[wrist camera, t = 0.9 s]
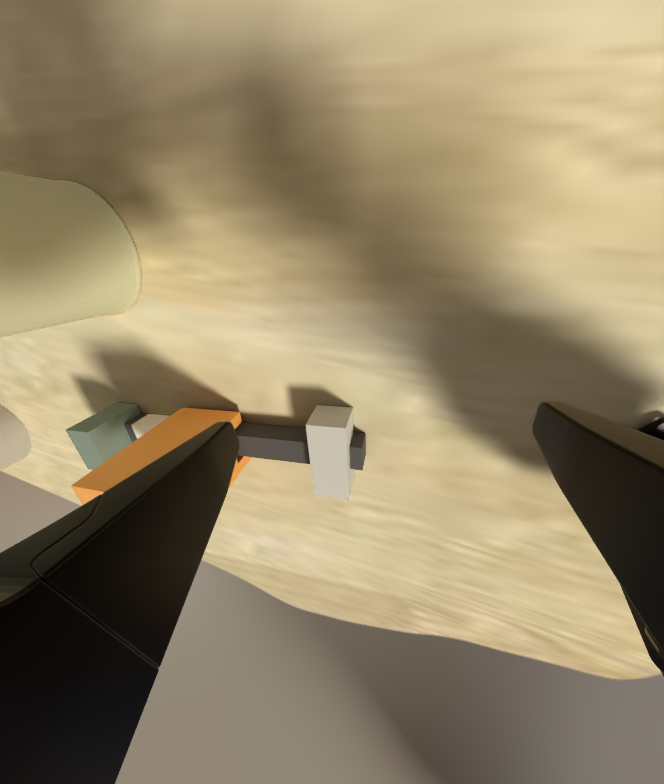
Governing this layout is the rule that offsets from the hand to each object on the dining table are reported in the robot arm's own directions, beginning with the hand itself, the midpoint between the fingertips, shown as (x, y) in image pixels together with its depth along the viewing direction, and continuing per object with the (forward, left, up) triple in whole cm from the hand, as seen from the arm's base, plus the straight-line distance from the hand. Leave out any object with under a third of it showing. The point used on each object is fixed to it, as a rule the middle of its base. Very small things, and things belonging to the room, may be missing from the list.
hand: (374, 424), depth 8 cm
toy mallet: (+5, +17, -12) cm, 21 cm away
